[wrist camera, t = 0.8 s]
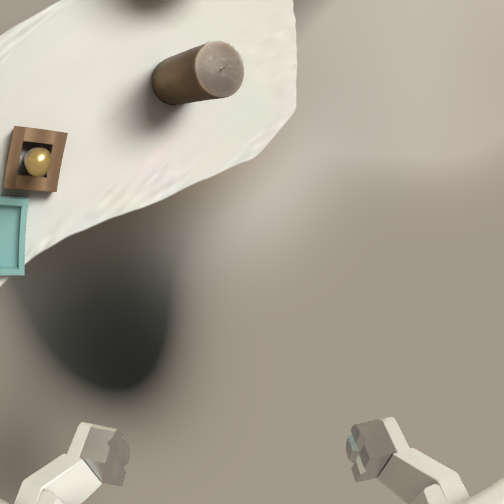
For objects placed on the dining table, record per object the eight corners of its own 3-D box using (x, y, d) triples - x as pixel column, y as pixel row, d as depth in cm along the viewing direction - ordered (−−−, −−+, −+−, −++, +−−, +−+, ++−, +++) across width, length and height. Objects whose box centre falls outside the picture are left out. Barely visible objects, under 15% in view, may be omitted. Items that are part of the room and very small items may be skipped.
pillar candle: (171, 115, 51) (223, 110, 41) (141, 77, 43) (188, 59, 34) (204, 84, 53) (259, 76, 43) (178, 47, 46) (231, 28, 36)
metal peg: (21, 169, 35) (23, 175, 27) (26, 146, 34) (29, 146, 26) (41, 170, 37) (49, 177, 30) (45, 148, 37) (54, 149, 29)
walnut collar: (4, 185, 33) (3, 188, 31) (14, 127, 31) (14, 126, 30) (53, 189, 40) (56, 192, 38) (64, 133, 38) (67, 133, 36)
